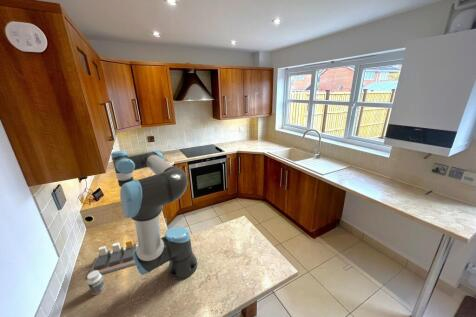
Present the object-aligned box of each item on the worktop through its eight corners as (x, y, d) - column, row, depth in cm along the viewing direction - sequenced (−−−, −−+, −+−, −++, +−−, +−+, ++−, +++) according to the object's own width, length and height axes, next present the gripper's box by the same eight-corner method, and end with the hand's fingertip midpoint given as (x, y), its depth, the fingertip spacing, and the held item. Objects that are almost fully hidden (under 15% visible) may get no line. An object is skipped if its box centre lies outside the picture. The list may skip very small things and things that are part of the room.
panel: (138, 263, 108) (135, 251, 106) (88, 278, 101) (83, 265, 98) (141, 245, 123) (139, 234, 120) (98, 256, 115) (94, 245, 113)
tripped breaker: (133, 247, 115) (131, 241, 114) (127, 248, 114) (125, 242, 113) (133, 244, 117) (132, 238, 116) (127, 246, 116) (126, 240, 115)
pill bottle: (90, 290, 94) (84, 274, 91) (104, 282, 98) (98, 267, 95) (92, 297, 90) (86, 281, 87) (106, 289, 94) (101, 273, 91)
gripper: (131, 180, 102) (140, 219, 108) (134, 173, 113) (142, 208, 120) (115, 183, 99) (125, 222, 105) (119, 175, 111) (128, 211, 117)
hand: (134, 215), depth 113 cm, fingers closed
